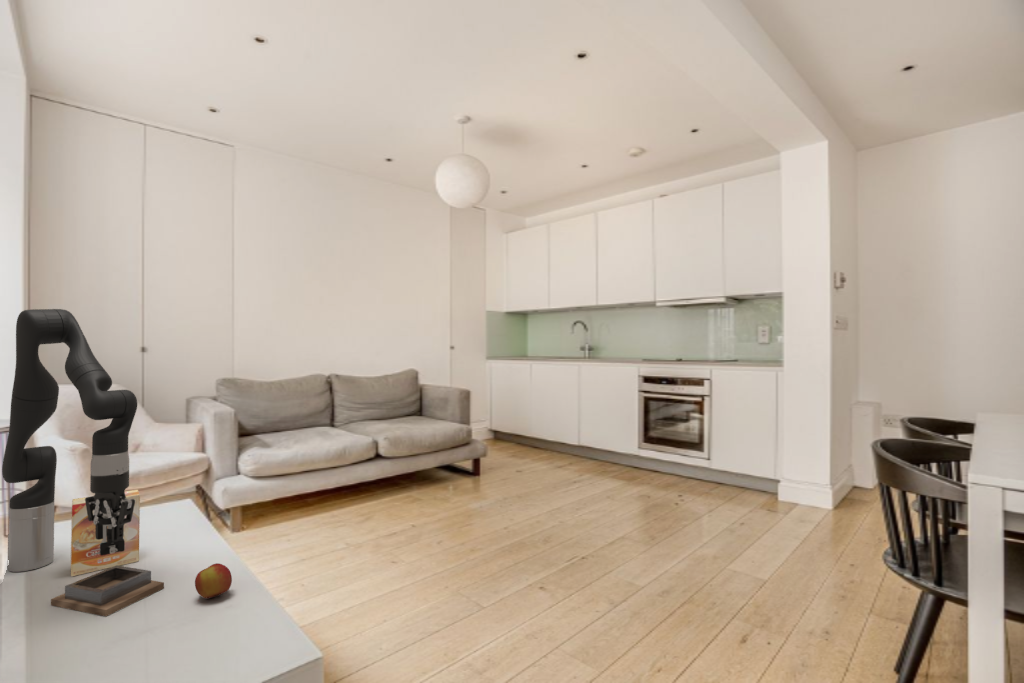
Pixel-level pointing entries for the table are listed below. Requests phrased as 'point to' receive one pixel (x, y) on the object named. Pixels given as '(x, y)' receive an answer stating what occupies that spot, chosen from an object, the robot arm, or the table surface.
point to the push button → (109, 538)
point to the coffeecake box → (86, 539)
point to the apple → (213, 581)
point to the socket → (89, 593)
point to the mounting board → (109, 606)
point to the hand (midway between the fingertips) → (109, 539)
